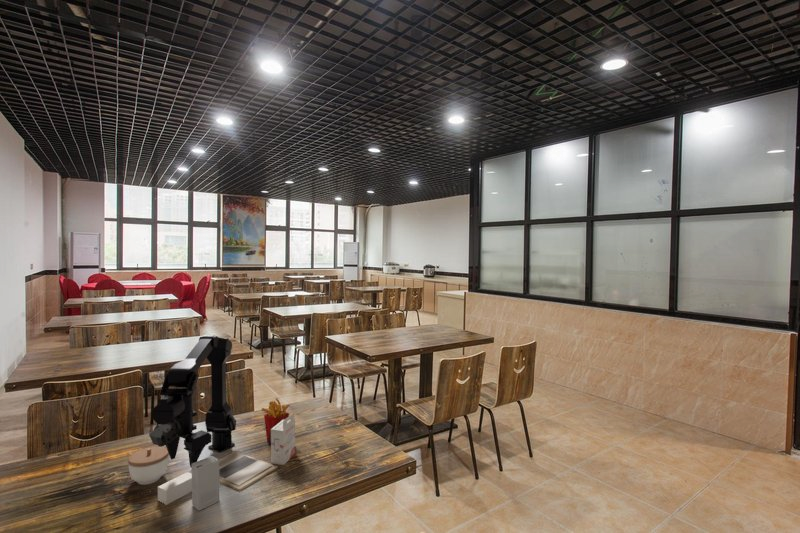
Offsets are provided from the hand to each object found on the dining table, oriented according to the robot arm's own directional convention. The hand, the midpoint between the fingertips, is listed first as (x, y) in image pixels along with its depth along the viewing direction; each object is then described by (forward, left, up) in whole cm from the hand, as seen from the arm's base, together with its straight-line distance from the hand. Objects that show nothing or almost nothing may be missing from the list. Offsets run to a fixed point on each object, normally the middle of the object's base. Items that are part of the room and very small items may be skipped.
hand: (182, 462), depth 120 cm
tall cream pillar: (0, 0, -9) cm, 9 cm away
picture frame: (+4, +16, -8) cm, 18 cm away
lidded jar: (-15, -1, -9) cm, 17 cm away
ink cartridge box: (+11, +29, -9) cm, 32 cm away
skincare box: (+11, 0, -9) cm, 14 cm away
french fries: (-2, +37, -9) cm, 38 cm away
